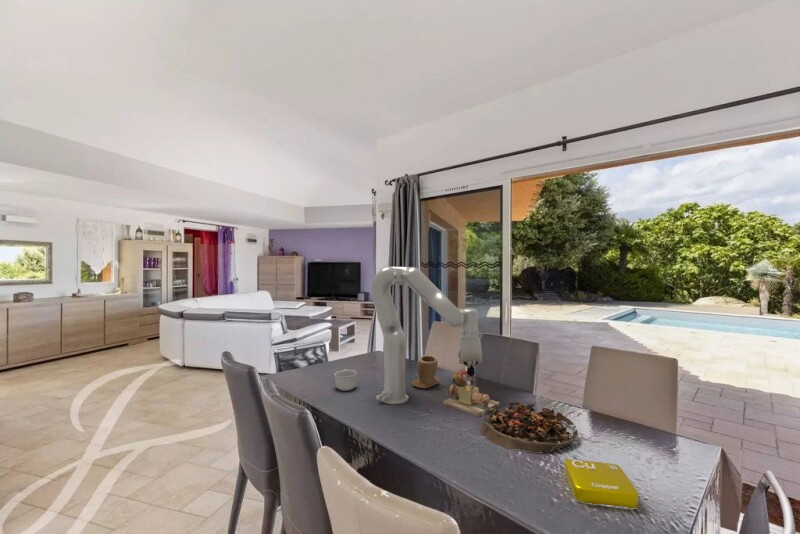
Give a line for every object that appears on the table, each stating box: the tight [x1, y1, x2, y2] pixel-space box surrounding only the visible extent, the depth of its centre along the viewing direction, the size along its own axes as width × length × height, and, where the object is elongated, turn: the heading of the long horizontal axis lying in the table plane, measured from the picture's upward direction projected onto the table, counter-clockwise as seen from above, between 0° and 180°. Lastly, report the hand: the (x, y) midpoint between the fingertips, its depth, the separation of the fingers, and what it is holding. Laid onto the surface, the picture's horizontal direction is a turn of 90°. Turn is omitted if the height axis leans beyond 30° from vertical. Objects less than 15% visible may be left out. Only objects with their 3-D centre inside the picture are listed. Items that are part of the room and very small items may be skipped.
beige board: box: [442, 397, 500, 417], centre depth 161 cm, size 16×18×2 cm
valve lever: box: [459, 369, 471, 386], centre depth 165 cm, size 13×3×4 cm, turn 3°
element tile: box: [563, 458, 639, 508], centre depth 101 cm, size 15×15×5 cm
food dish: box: [479, 401, 579, 453], centre depth 136 cm, size 35×33×8 cm
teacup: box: [334, 368, 358, 392], centre depth 183 cm, size 14×11×8 cm
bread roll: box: [452, 370, 475, 386], centre depth 191 cm, size 10×10×8 cm
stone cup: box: [411, 354, 441, 389], centre depth 186 cm, size 15×12×15 cm
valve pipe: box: [448, 383, 491, 409], centre depth 159 cm, size 6×18×7 cm, turn 45°
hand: (470, 375), depth 169 cm, fingers closed
